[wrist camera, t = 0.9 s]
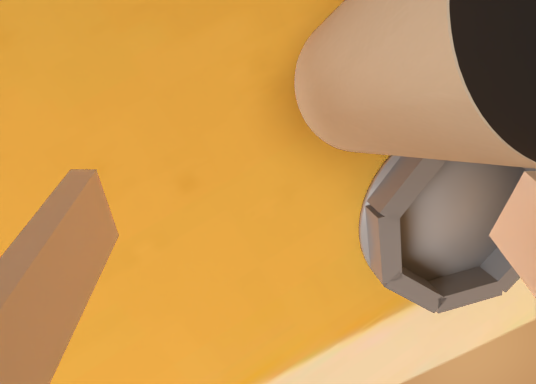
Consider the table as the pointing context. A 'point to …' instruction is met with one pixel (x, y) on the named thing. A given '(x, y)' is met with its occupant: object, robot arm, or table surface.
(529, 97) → the travel mug
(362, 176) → the table surface
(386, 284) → the socket ring
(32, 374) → the robot arm
